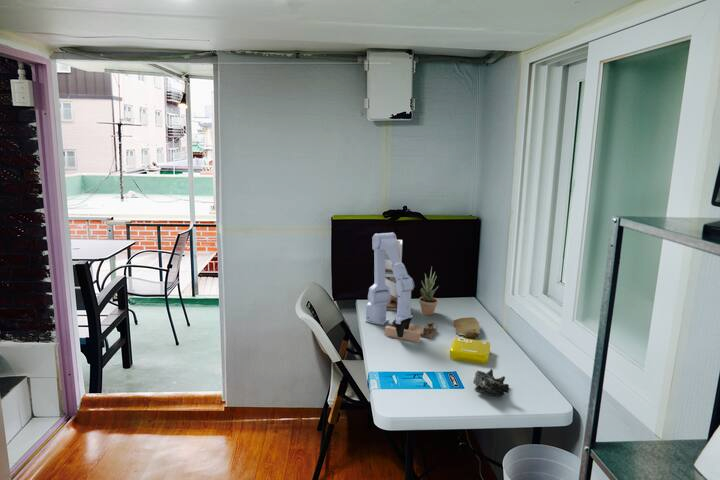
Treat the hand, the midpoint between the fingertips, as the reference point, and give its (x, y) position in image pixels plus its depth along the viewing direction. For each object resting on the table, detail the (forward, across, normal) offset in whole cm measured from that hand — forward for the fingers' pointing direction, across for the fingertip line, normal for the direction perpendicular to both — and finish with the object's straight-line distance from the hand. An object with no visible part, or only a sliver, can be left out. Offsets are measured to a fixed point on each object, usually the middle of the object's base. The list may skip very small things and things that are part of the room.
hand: (402, 334), depth 220 cm
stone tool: (+2, +22, -24) cm, 33 cm away
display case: (+2, +37, +20) cm, 42 cm away
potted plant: (+2, +37, -1) cm, 37 cm away
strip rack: (+2, +10, -2) cm, 10 cm away
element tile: (+2, -4, -31) cm, 31 cm away
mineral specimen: (+2, -32, -44) cm, 54 cm away
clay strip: (+2, 0, 0) cm, 2 cm away
